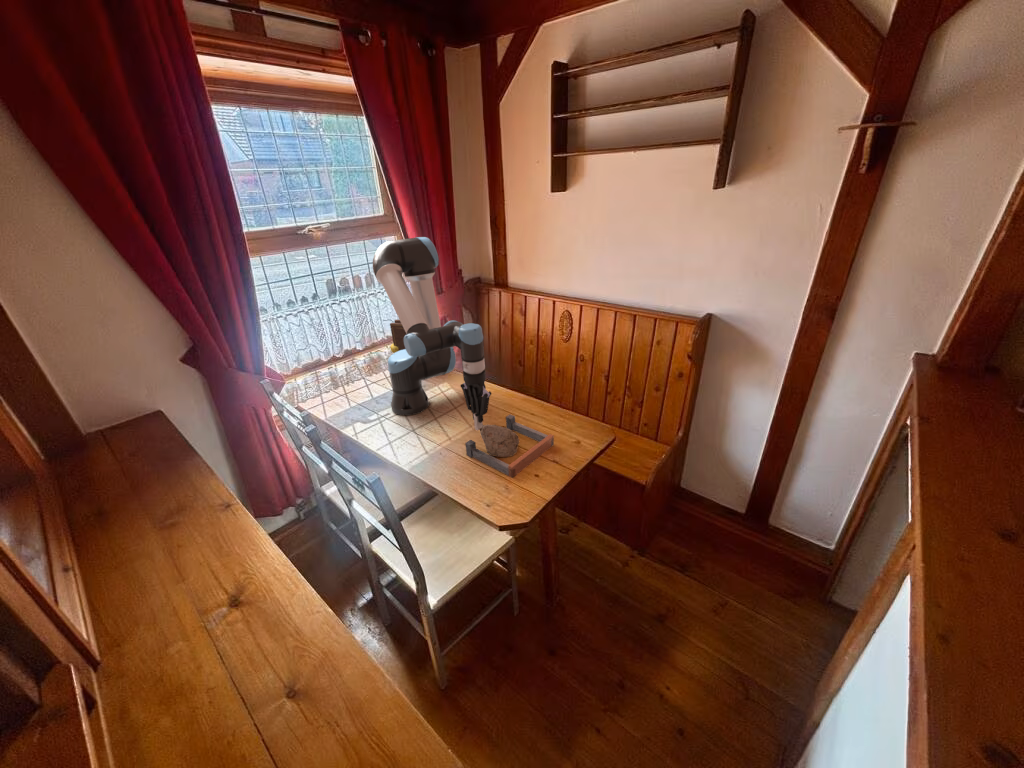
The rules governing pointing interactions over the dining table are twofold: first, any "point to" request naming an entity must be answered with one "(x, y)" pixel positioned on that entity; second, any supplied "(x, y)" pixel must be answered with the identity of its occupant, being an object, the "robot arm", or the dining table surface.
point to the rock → (499, 440)
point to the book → (397, 336)
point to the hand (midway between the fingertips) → (478, 428)
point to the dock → (523, 460)
